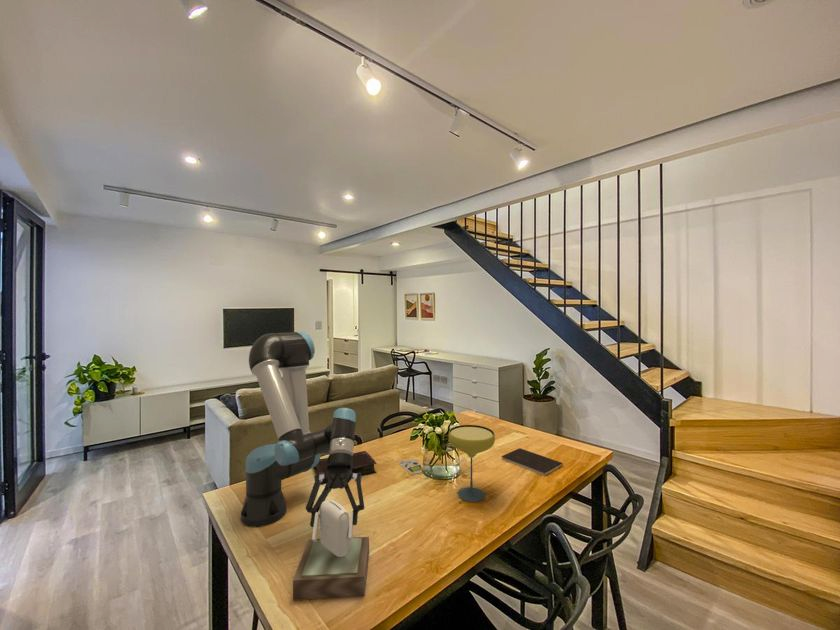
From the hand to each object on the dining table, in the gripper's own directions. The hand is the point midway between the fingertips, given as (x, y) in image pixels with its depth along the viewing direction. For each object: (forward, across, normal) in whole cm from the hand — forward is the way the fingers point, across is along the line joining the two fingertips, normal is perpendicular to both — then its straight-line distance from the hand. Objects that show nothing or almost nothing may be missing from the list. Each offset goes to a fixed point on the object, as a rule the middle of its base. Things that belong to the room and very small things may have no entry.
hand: (332, 539), depth 95 cm
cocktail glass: (-21, +47, +38) cm, 64 cm away
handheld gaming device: (-40, +25, +58) cm, 75 cm away
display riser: (+6, 0, +11) cm, 12 cm away
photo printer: (+1, 0, +5) cm, 5 cm away
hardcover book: (-40, +82, +58) cm, 108 cm away
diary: (-39, -6, +56) cm, 68 cm away
